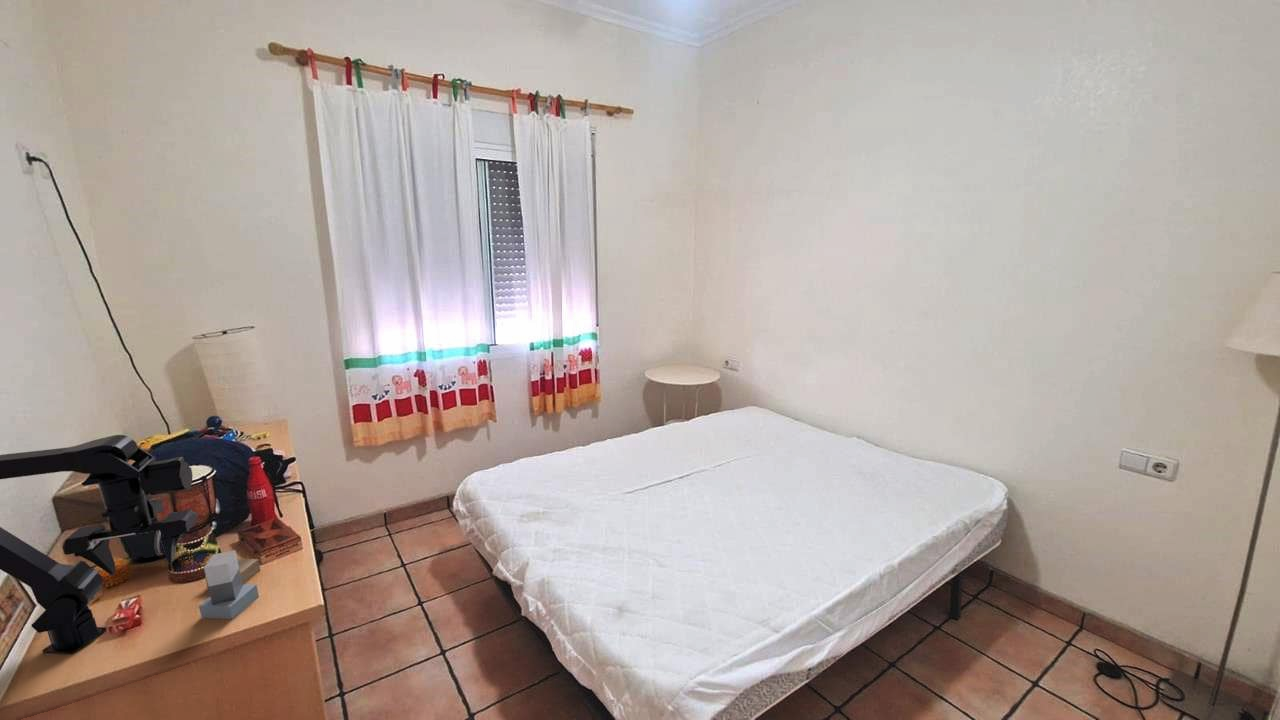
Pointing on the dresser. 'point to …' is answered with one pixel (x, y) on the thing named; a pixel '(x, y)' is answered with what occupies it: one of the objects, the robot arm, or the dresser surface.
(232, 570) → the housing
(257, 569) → the stand
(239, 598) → the stand
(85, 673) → the dresser surface
